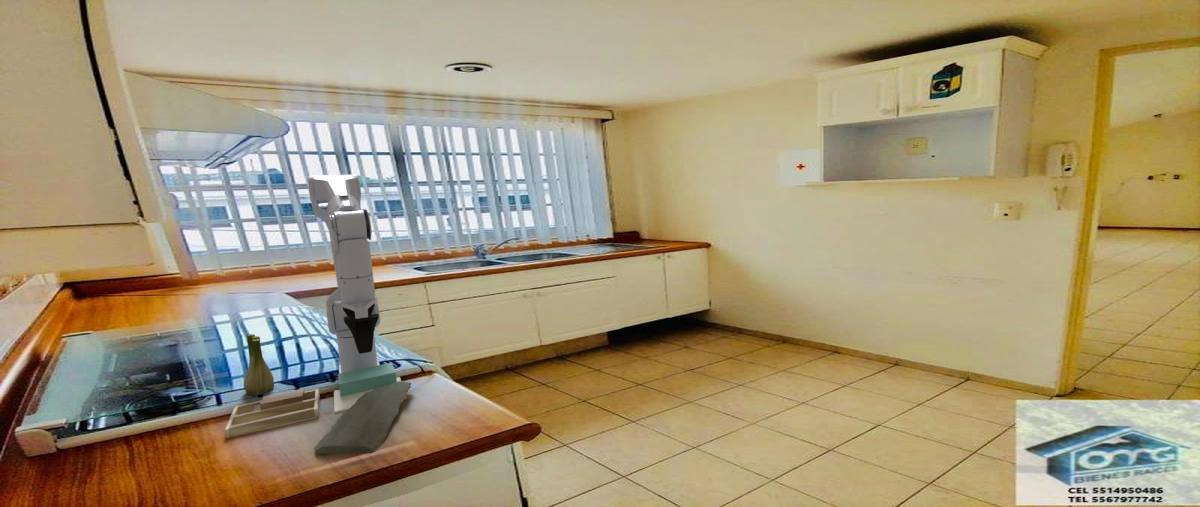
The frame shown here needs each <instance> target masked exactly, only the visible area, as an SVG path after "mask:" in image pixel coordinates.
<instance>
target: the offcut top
mask: <svg viewBox="0 0 1200 507" xmlns="http://www.w3.org/2000/svg"><path fill="white" fill-rule="evenodd" d="M304 391H305V389H304V388H302V389H296V390H292V391H287V392H280V393H277V394H272V395H266V396H263V397H262V399H261V400H262V401H261V400H260V401H261V403H260V407H261V410H262V409H267V408H271V407H276V406H280V405H285V404H290V403H294V402H299V401H304V397H305V392H304Z"/></svg>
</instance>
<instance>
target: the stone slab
mask: <svg viewBox="0 0 1200 507" xmlns="http://www.w3.org/2000/svg"><path fill="white" fill-rule="evenodd" d="M411 384H412V382H409V381H402V380H401V381H398V382H395V383H392V384H389V385H386V386H382V387H379V388H376V389H374V390H372V391H370V392H367V393H365V394H364V395H363V396H361V397H360V398H359V399H357V401H356V403H355V404H354V405H352V406H351V408H350V409H349V410H347V411H345V412H343V414H342V415H340V416H339V418H338V419H337V420H336V421H335V423H334V424H333V425H331V428H330V430H329V431H327V433H326V434H324V435H323V437H322V438H321V439H320V440H319V441H318V442H317V444H316V446H314V448H313V449H314V453H315V454H318V455H329V456H330V455H341V454H342V455H343V454H353V453H368V454H374V453H376V450H377V449H378V448H380V447H381V446H382V444H383V443H384V442H385V441H386V438H387V437H388V435H389V434H388V433H389V430H390V428H391V425H392V423H393V421H394V420H395V418H396V417H397V416H398V414H399V410H400V407H401V405H402V404H403V403H404V399H405V396H407V393H408V392H409V390H410V389H412V388H411V387H412V386H411ZM405 400H406V399H405ZM373 452H374V453H373Z"/></svg>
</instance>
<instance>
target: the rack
mask: <svg viewBox="0 0 1200 507" xmlns="http://www.w3.org/2000/svg"><path fill="white" fill-rule="evenodd" d="M304 392H305V397H304V401H299V402H294V403H290V404H285V405H280V406H276V407H271V408H267V409H262V410H257V411H253V410H254V407H255V405H259V404H260V403H261V401H262V399H261V400H256V401H251V402H246V403H243V404H235V405H234V408H233V410H232V413H231V415H230V417H229V420H228V422H227V424H226V427H225V428H224V432H225V438H226V440H227V439H230V438H234V437H235V438H236V437H240V436H243V435H248V434H252V433H256V432H261V431H265V430H269V429H274V428H279V427H283V426H287V425H291V424H295V423H299V422H303V421H304V422H305V421H308V420H312V419H317V418H319V414H320V397H321V396H320V389H319V388H315V389H309V390H304Z"/></svg>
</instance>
